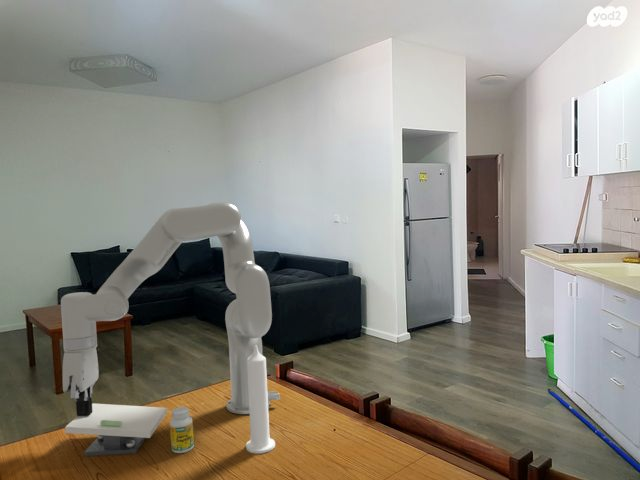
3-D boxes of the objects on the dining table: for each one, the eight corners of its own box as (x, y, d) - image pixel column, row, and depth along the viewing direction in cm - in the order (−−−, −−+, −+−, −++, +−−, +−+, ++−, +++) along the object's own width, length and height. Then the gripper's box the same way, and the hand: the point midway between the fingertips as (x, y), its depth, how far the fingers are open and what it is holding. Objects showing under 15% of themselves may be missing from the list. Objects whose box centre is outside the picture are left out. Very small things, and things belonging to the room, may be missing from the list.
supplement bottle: (190, 441, 123) (187, 403, 123) (197, 449, 119) (195, 410, 118) (168, 447, 120) (166, 409, 120) (175, 456, 116) (172, 416, 115)
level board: (166, 413, 131) (167, 403, 131) (149, 437, 117) (150, 426, 117) (91, 408, 131) (91, 398, 131) (65, 433, 117) (65, 421, 117)
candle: (279, 441, 121) (275, 341, 119) (267, 455, 115) (262, 350, 113) (254, 438, 124) (249, 340, 122) (240, 451, 117) (235, 348, 115)
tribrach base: (152, 429, 131) (151, 413, 131) (135, 453, 118) (133, 436, 118) (106, 431, 131) (105, 415, 130) (84, 456, 118) (83, 438, 117)
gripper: (79, 335, 130) (83, 403, 131) (49, 351, 115) (54, 428, 116) (107, 334, 130) (111, 402, 131) (81, 350, 115) (86, 427, 116)
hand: (84, 414), depth 124 cm, fingers closed
